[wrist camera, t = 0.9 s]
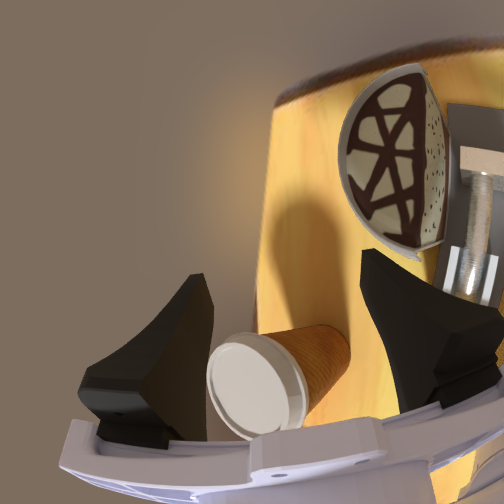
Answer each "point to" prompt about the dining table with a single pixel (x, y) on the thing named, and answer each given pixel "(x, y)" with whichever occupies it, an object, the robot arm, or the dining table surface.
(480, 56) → the dining table surface
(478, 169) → the shaft
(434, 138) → the food container
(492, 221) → the mat
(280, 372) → the disposable coffee cup
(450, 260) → the bearing block
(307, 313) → the dining table surface
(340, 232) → the dining table surface
